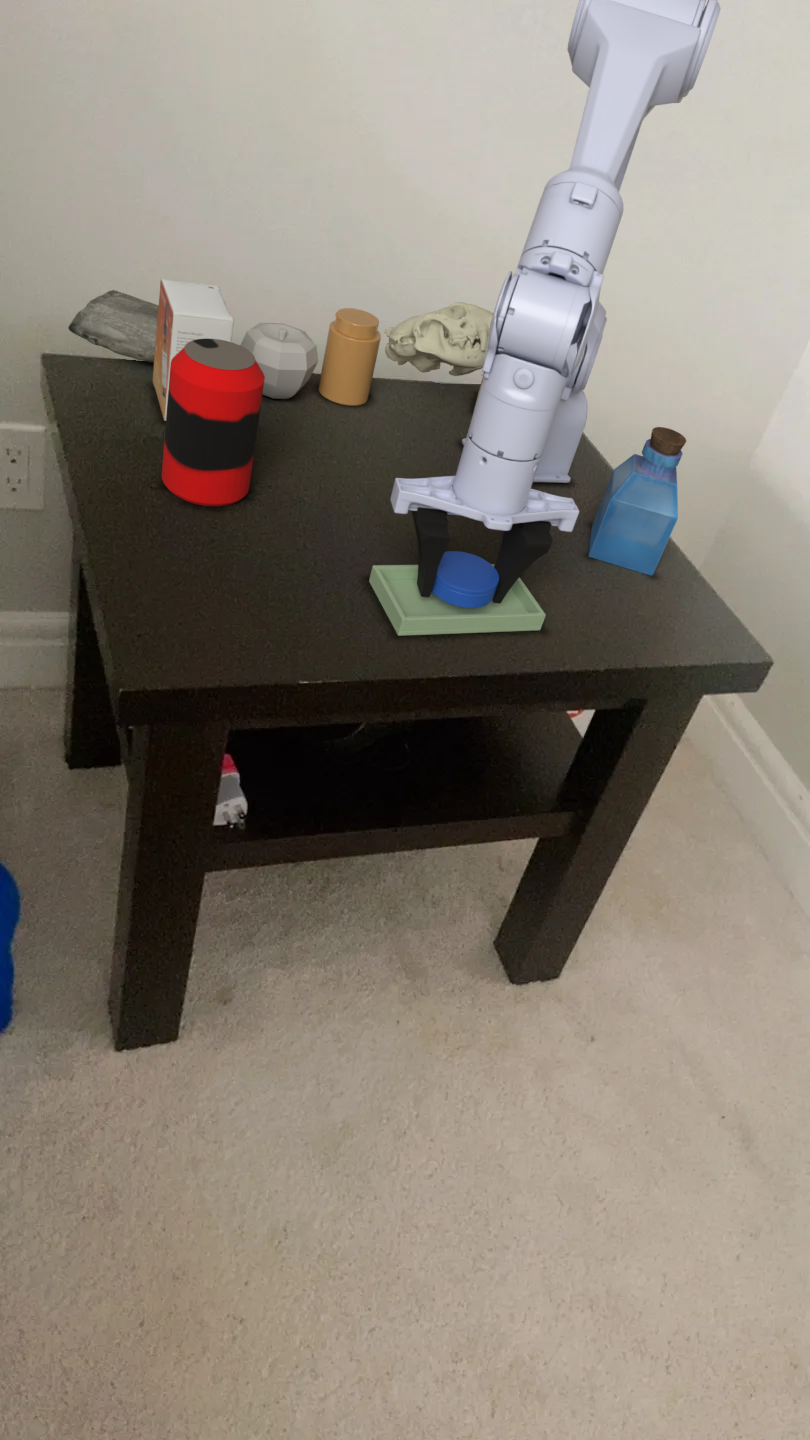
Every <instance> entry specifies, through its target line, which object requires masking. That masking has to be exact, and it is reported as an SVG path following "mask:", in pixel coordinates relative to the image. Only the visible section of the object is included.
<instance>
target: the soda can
mask: <svg viewBox="0 0 810 1440" xmlns="http://www.w3.org/2000/svg"><path fill="white" fill-rule="evenodd" d="M240 345H241V344H237V343H235V342H232V341H231V342H228V341H224V340H219V339H197V340H193V341H190V342H188V343H187V344H186V345H185V347H184V348H183V349H182V350H181V351H180V352H179V353H177V354H176V355H175V356H174V357H173V359H172V360H171V366H170V378H169V390H168V403H167V415H166V421H165V426H164V427H165V428H164V429H165V430H164V442H163V454H162V463H161V464H162V466H161V480H162V482H163V484H164V486H165V487H166V488H167V490H168V491H170V493H171V494H173V495H174V496H175V497H177V498H179V499H180V500H183V501H184V502H188V503H189V504H190V503H191V504H194V505H197V506H203V507H213V508H214V507H225V506H230V505H233V504H236V503H238V502H240V501H241V500H242V499H243V498H245V497H246V496H247V495H248V493H249V491H250V486H251V485H250V484H251V478H252V471H253V465H254V464H253V463H254V456H255V449H256V444H257V443H256V442H257V435H258V429H259V422H260V415H261V408H262V402H263V401H262V400H263V387H264V380H265V376H264V373H263V372H262V370H261V368H260V367H259V365H258V363H257V362H256V360H255V357H254V355H253V354H252V353H251V352H250V351H249V350H247V349H246V348H244V347H242V346H240Z"/></svg>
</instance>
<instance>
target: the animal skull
mask: <svg viewBox="0 0 810 1440" xmlns="http://www.w3.org/2000/svg"><path fill="white" fill-rule="evenodd" d="M493 313H494V312H492V311H490V310H488V309H485V308H484V307H480V306H479V305H476V304H472V303H466V302H460V301H459V302H454V303H451V304H450V305H449V306H446V307H443V308H440V309H439V310H436V311H431V312H427V313H423V314H421V315H414V316H411V317H408V318H406V319H404V320H402V321H401V322H398V323H397V324H396V325H395V326H390V327H388V328H386V329H384V330H383V333H384V334H385V335H386V337H387V338H388V342H387V343H386V344H385V347H384V352H385V355H386V358H388V359H389V360H391V361H393V362H397V365H398V366H403V365H405V364H406V363H407V362H409V363H410V364H411V365H412V366H413V367H414V368H416V370H418V371H419V372H421V373H424V374H425V373H429V372H431V371H437V370H440V369H441V363H443V364H447V365H449V366H450V367H452V369H451V370H449V371H448V374H449V375H450V376H453V377H459V376H464V375H469V374H472V373H473V372H476V371H479V370H482V369H483V366H484V362H485V358H486V354H487V348H488V338H489V330H490V325H491V321H492V317H493Z"/></svg>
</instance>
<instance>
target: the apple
mask: <svg viewBox="0 0 810 1440" xmlns="http://www.w3.org/2000/svg"><path fill="white" fill-rule="evenodd" d="M239 345H240V346H242V347H244V348H246V349H247V350H249V351H250V352H251V353H252V354H253V355H254V357H255V360H256V362H257V363H258V365H259V367H260V368H261V370H262V372H263V373H264V376H265V380H264V387H263V394H262V396H265V397H267V398H271V399H273V400H275V399H276V400H288V399H290V398H293V397H294V396H295V395H297V393H298V392H299V391H300V390H301V389H302V388H303V387H304V386H305V385H306V384H307V383H308V381H309V380H311V377H312V375H313V374H314V371H315V369H316V367H317V365H318V363H319V354H318V347H317V344H316V342H315V341H313V340H312V338H311V337H310V336H309V335H308V334H307V332H306V331H305V330H302V329H300V328H297V327H294V326H291V325H288V324H285V323H281V322H280V323H279V322H277V323H275V322H260V323H257V324H256V325H255V326H253V327H250V328H249V329H248V330H246V332H245V334H244V337H243V338H242V340H241V342H240V344H239Z"/></svg>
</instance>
